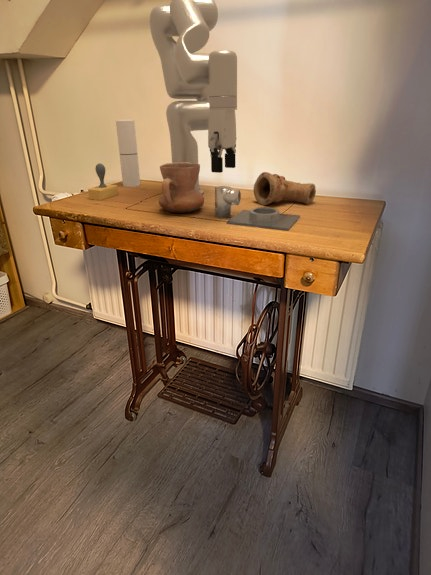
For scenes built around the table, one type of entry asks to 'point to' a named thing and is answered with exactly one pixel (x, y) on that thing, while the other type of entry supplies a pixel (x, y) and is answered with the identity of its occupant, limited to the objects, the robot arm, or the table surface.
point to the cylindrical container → (128, 152)
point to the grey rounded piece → (225, 200)
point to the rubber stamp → (102, 186)
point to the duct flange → (264, 218)
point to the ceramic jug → (180, 187)
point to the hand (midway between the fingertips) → (223, 169)
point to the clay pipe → (281, 190)
